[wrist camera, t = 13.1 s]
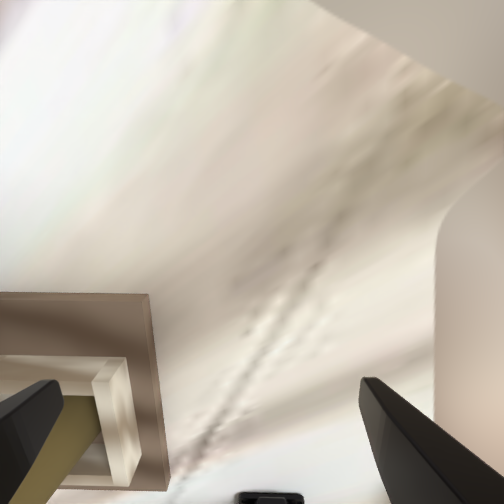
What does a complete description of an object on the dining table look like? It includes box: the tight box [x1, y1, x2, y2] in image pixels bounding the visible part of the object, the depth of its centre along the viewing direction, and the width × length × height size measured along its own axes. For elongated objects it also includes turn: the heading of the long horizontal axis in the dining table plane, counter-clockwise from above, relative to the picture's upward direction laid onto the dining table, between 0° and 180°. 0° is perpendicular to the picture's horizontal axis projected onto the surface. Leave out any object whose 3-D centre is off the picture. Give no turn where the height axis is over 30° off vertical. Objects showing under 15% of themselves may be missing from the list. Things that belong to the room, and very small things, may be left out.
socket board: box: [0, 292, 171, 491], centre depth 21 cm, size 20×14×4 cm
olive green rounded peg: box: [9, 395, 102, 504], centre depth 17 cm, size 6×6×11 cm
